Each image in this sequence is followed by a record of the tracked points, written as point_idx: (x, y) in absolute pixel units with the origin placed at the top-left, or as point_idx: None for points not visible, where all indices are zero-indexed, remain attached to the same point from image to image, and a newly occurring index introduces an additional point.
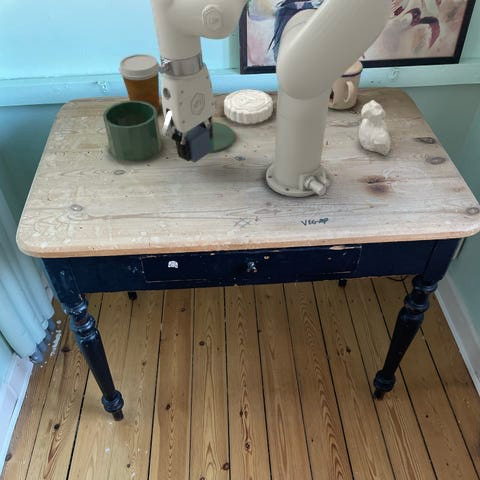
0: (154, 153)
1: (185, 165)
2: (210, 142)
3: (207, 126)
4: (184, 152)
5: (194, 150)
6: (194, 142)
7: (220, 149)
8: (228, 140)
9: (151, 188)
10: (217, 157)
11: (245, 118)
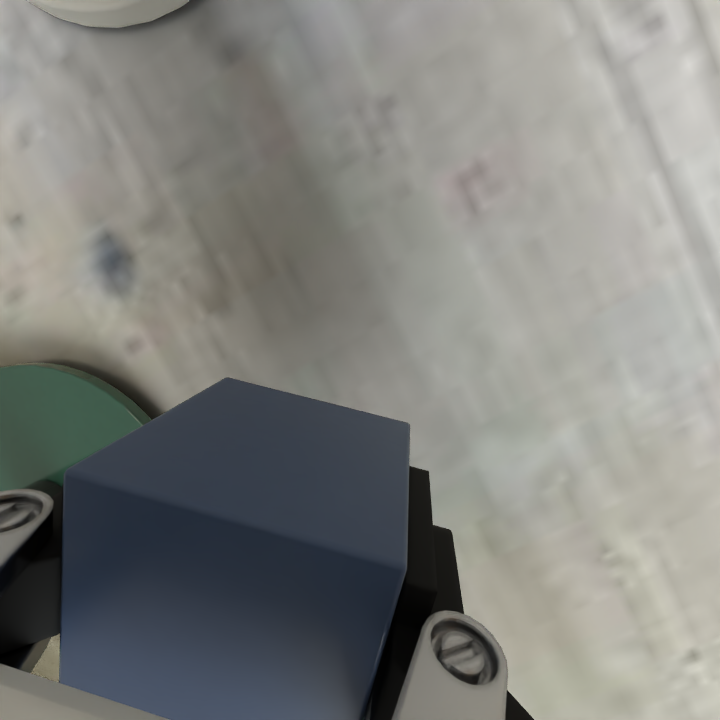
0: None
1: None
2: None
3: (13, 518)
4: (434, 547)
5: (394, 471)
6: (368, 521)
7: (111, 391)
8: (23, 387)
9: (571, 572)
10: (167, 383)
11: None
